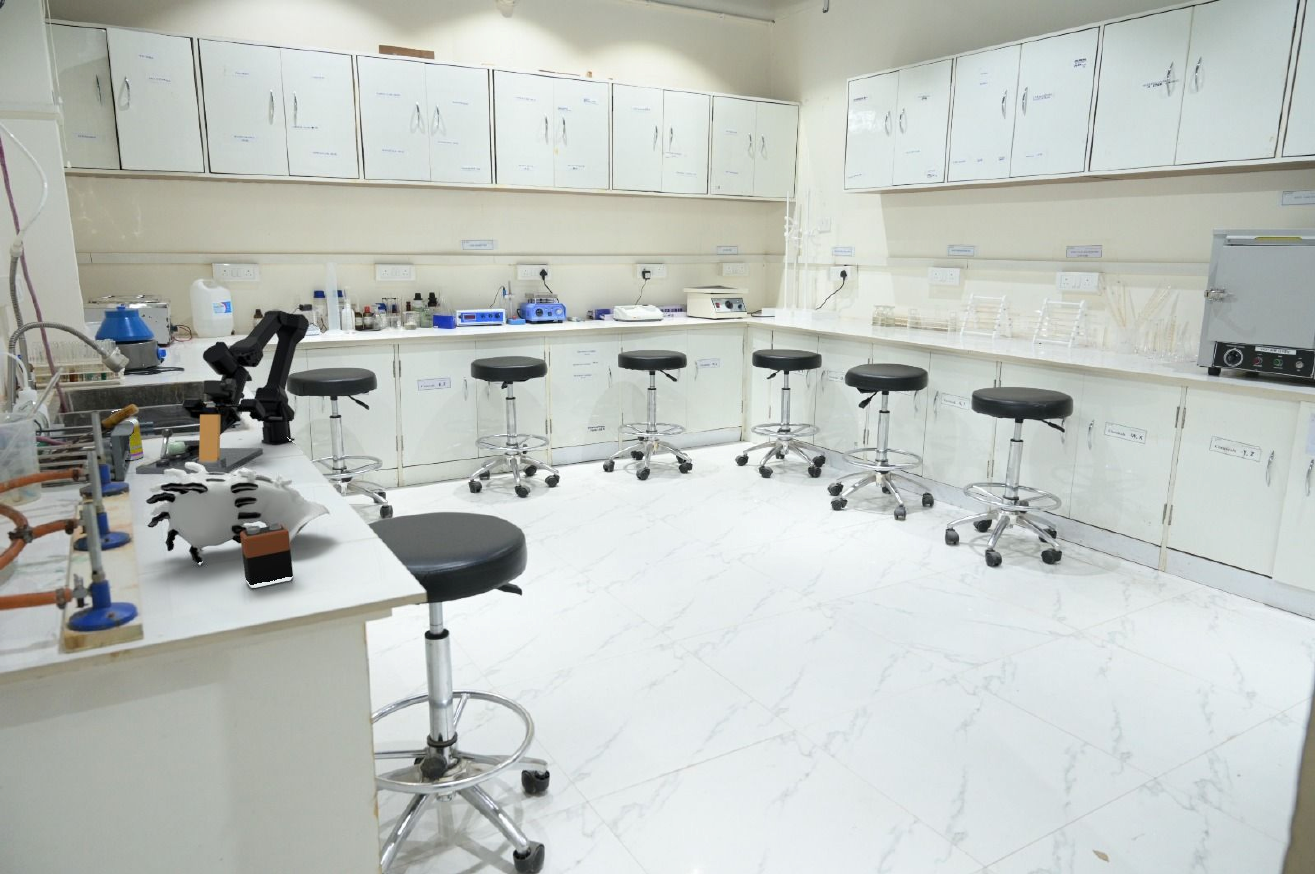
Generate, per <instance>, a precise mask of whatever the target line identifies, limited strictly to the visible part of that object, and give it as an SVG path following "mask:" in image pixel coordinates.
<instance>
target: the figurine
mask: <svg viewBox="0 0 1315 874" xmlns="http://www.w3.org/2000/svg"><path fill="white" fill-rule="evenodd" d="M185 467H186V468H188V469H190V470H194V471H196V472H198V473H190V474H187V473H186V472H185V471H184V470H179V469H174V468H172V469H166V470H164V473H165V474H164V475H166V476H169V477H170V476H171V477H173V476H175V477H176V478H180V479H179V482H165V483H157V484H155V485H154V486H153V487H151V488H149V492H150V493H156V494H153V495H152V496H151V497H149V498H147V499H146V504H149V505H153V504H154V505H155V504H156V503H158V502H163V503H161V504H159V505H155V507H154V509H153V510H152V511H151V512H150V516H154V517H152V518H151V521H150V522H149V523H148V524H147V527H148V528H152V529H153V528H155V527H156V526H158V524H159V522H163V521H164V520H168V527H167V530H166V534H167V536H166V540H165V542H164V543H165V544H166V547H167V548H166V549H167V551H168V552H172V550H174V547H175V543H174V541H175V540H176V536H178V537H180V538H182V539H183V540H184V541H186V542H187V543H188V544H189V545H190V547H189V550H188V552H189V553H190V556H191V559H192V561H193V562H195V563H196V564H198V563H199V562H202V561H203V557H201V556H200V552H199V551H201V550H203V549H204V548H207V547H217V546H221V545H223V544H225V543H227V542H229V541H234V542H236V543H238V544H241V537H240V533H241V532H242V531H246V528H247V527H250V526H252V525H251V524H253V523H257V522H261V523H263V524H265V527H268V526H270V524H273V523H280V524H281V525H283V526H284V527H285V528H286V529H287V530H288V532H289V540H290V542H291V541H292V540H294V538H295V537H296V536H297V535H298V534H299V533H300V532H301V531H302V530H303V529H304V528H305V526H307V525H308V523H310V522H311V521H312V520H314V519H315V518H318V517H320V516H322V515H325V514H328V515H330V511H329V510H328V508H327V507H326V506H325V505H324V504H320V503H318V502H315V501H309V500H307V499H305V497H303V496H301V494H300V491H298V490H297V489H294V488H293V487H290V485H291V484H292V483H293V479H285V478H283V476H282V475H281V474H277V475H276V479H274V478H271V477H268V476H265V475H262V474H260V475H258V474H257V472H256V470H252V469H250V468H246V467H241V468H239V469H236V470H235V471H233V472H232V473H229V472H228V473H222V472H209V473H208V472H207V471H206V470H205V467H204V466H203V465H200V464H198V463H194V462H186V463H185ZM160 491H163V492H161V493H158V492H160ZM166 501H167V502H166ZM244 524H250V525H244ZM200 549H201V550H200ZM203 562H204V561H203Z"/></svg>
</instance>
